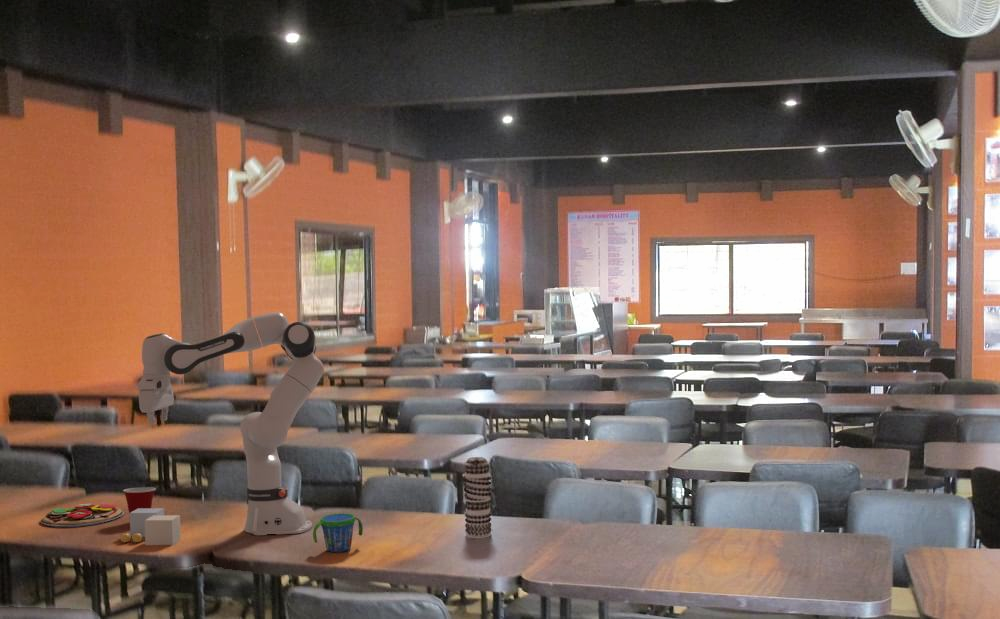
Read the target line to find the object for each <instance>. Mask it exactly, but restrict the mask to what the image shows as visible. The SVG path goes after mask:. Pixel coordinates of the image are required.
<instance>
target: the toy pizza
mask: <svg viewBox="0 0 1000 619" xmlns="http://www.w3.org/2000/svg"><path fill="white" fill-rule="evenodd" d="M124 514H125V511H124V510H122V509H121V508H119V507H117V506H116V505H114V504H109V503H107V504H106V503H105V504H103V503H102V504H97V503H96V504H95V503H82V504H77V505H75V506H74V507H69V508H62V507H61V508H60V507H59V508H54V509H51V511H50V512H48V513H46V514H45V515H44V516H42V518H41V519H40V523H41V524H42V525H43V524H44V526H45V525H47V526H46V527H49V526H54V527H53V528H60V527H68V528H78V527H79V528H82V527H81V526H83V527H90V526H89V525H91V526H96V524H97V525H100V523H102V524H105V523H104V522H106V523H109V522H108V521H110V522H112V521H111V520H113V521H115V520H114V519H116V520H118V519H120V518H121V517H123V516H124ZM119 515H120V516H119ZM119 517H120V518H119ZM117 518H118V519H117Z"/></svg>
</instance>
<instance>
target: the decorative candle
mask: <svg viewBox="0 0 1000 619" xmlns="http://www.w3.org/2000/svg"><path fill="white" fill-rule="evenodd" d="M489 464H490V462H489V461H488V460H487V459H486V458H485V457H482V456H474V457H469V458H467V460H466V462H464V465H465V472H464V474H465V475H463V477H462V480H463V486H464V487H463V491H464V492H465V493H464V495H463V497H464V501H465V502H466V503H465V504H466V507H465V513H464V516H465V519H464V521H465V522H466V523H465V524H464V526H465V530H464V531H465V537H466V538H469V539H486V538H490V537H491V536H492V527H491V526H492V523H491V521H492V518H491V516H492V513H491V507H490V500H491V495H492V493H491V492H490V491H492V488H491V487H489V486H490V485H491V484H492V481H490V480H492V477H491V476H490V471H489ZM489 536H490V537H489Z"/></svg>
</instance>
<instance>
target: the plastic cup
mask: <svg viewBox="0 0 1000 619" xmlns="http://www.w3.org/2000/svg"><path fill="white" fill-rule="evenodd" d="M156 490H157V489H156V487H151V486H149V487H148V486H146V487H144V486H143V487H132V488H125V489H122V491H123V493H124V496H125V499H126V503H127V508H128V513H129V515H130V513H131V512H132V511H134V510H136V509H138V508H152V504H153V498H154V494H155V491H156Z"/></svg>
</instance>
